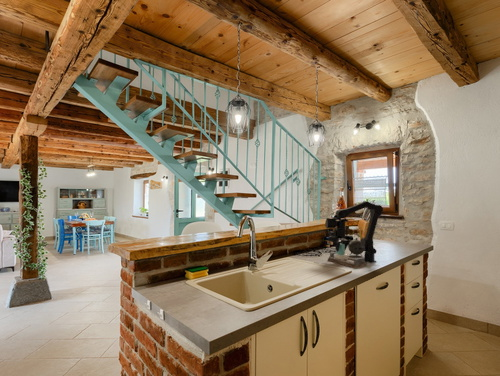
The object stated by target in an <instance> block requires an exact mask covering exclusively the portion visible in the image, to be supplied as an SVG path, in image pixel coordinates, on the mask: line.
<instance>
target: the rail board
mask: <svg viewBox="0 0 500 376" xmlns="http://www.w3.org/2000/svg"><path fill="white" fill-rule="evenodd" d="M334 254H337V251H333V252H332V251H331V252H329V256H328V258H327V261H329V262H332V263H335V264H339V265H342V266H346V267H349V268H353V269H357V268H361V267H367V266H368V265H367V263H368V262H366V261H364V257H358V258H357V257H356V258H353V257H349V256H348V259H345V260H341V259H337V258H334Z"/></svg>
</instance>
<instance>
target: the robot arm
mask: <svg viewBox="0 0 500 376" xmlns="http://www.w3.org/2000/svg"><path fill="white" fill-rule="evenodd" d="M363 209H367V210H369V214H370V218H369V221H368V226H367V230H366V234H365V237H361V239H360V241H361V243H360V244H361V247H362V249H363V252H364V255H363V256H364V257H363V258H364V261H365V263H369V264H370V263H371V264H372V263H377V260H375V254H377V249H376V248H375V247H374V235H375V231H376V227H377V224H378V220H379V218H380V217H381V216H382V213H383V211H384V207H383V206H382V205H380V204H374V203H372V202H369V201H368V200H367V201H366V200H365V201H361V202H360V203H357V204H355V205H354V204H353V205H352V206H350V207H346V208H341V209H337V210H336V211H335V214H334V215H333V216H332V217H331V218H329V217H326V219H325V221H324V222H325V223H324V226H325V228H326V229H335V228H336V229H335V230H334V231H332V230H330V231H328V238H327V241H329V242H332V243H333V245H334V247H335V250H336V251H335V252H338V251H339V246H340V243H341V242H342V244H345V251H346V249H348V244H349V243H350V242H351V241H352V240H354V236H353V235H348V234H346V232H348V230H347V229H346V223H349V220H348V219H347V217H349V216H350V215H351V214H354V213H356V212H358V211H360V210H363Z"/></svg>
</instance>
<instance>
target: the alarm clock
mask: <svg viewBox="0 0 500 376" xmlns="http://www.w3.org/2000/svg"><path fill="white" fill-rule="evenodd" d="M356 235H357V237H356ZM359 238H360V235H359V234H358V233H356V234H354V236H353V240H350V241H351V242H350V243H349V244H348V246H347V249H348V251H349V252H350V253H349V255H350V256H351V255H355V256H356V257H358V256H359V255H360V256H362V257H363V255H362V253H363V254H364V251H363V249H362V247H361V244H360V243H361V239H359Z"/></svg>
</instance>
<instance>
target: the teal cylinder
mask: <svg viewBox="0 0 500 376" xmlns="http://www.w3.org/2000/svg"><path fill="white" fill-rule="evenodd" d="M336 252H337V251H336ZM348 257H349V255H348V254H347V253H346V250H345V244H343V243H341V242H340V246H339V251H338V252H337V254H334V258H337V259H341V260H345V259H348Z"/></svg>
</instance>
